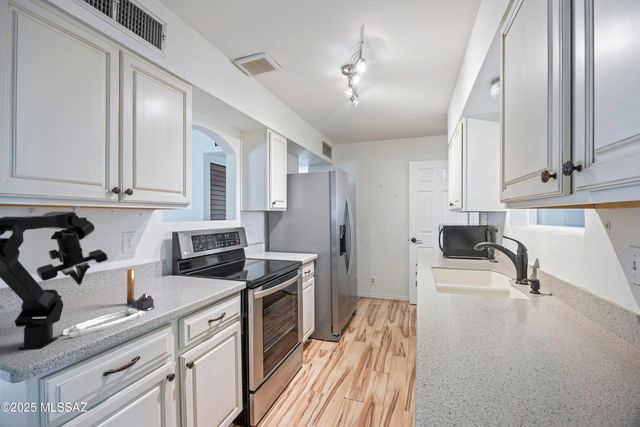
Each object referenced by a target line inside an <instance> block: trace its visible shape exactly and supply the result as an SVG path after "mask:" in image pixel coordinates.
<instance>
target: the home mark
mask: <svg viewBox="0 0 640 427" xmlns="http://www.w3.org/2000/svg"><path fill="white" fill-rule="evenodd" d="M126 306H127V307H130V308H131V307H137V305H135V304H126Z"/></svg>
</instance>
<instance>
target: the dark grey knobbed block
mask: <svg viewBox="0 0 640 427" xmlns="http://www.w3.org/2000/svg"><path fill="white" fill-rule="evenodd" d="M142 296H143V301H145V298H147V297H148V296H149V294H148V293H143V294H142ZM155 308H156V307H155V305H154V304H153V306H152V307H148V308H145V309H141V308H138V307H137V306H136V307H135V308H134V309H136V310H137V311H140V310H141V311H144V312H148V311H151V310H154V309H155Z"/></svg>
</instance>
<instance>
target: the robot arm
mask: <svg viewBox="0 0 640 427" xmlns="http://www.w3.org/2000/svg"><path fill="white" fill-rule="evenodd" d="M45 228H46V229H56V230H57V231H56V230H55V231H54V233H53V234H52V235H51V237H50V240H54V241H56V243H57V246H58V250H57V249H52V250H48V254H49V257H50V259H51V260H56V259H57V260H58V261H59V262H60V263H62V264H59V265H56V266H54V265H53V264H52V263H49V264H46V265H43V266H39V267H38V268H37V269H36V274H37V276H38V277H39V278H40V279H41V281H44V282H45V281H49V280H51V279H54V278H57V276H58V274H59V272H61V273H62V274H63V275H64V276H66V277H67V276H70V277H71V279H73V280H74V282H75V283H76V284H77V285H78V286H80V285H82V284H83V283H82V282H83V280H84V277H85V275H86V273H87V271H88V269H90V268H91V266H90V265H89V262H92V261H95V263H97V264H98V263H99V264H101V263H103V262H106V261H108V254H107V253H106V252H104V250H102V249H96V250H92V251H89V252H88V256H85V257H84V255H83V254H84V253H83V248H82V246H81V242H80V241H81V240H84V238H86V237H87V236H89V235H91V234H92V233H93V232H94V231H95V225H94V224H93V223H92V222H91V221H89V220H88V218H87V217H85V216H84V217H83V216H82V217H80V216H78V215H77V213H76V212H74V211H50V212H46V213H44V214H42V215H31V216H30V215H27V216H26V215H25V216H24V215H23V216H6V215H5V216H3V217H0V236H2V235H4V234H5V233H6V232H12V233H11V235H10V236H9V237H0V279H1V280H2V281H3V282H4V283H5V285H7V286H8V287H9V288H10V289H11V290H12V291H13V293H15V295H17V297H19V299H20V300H21V301H22V304H21V307H20V308H21V311H20V313H19V314H18V316H17V317H16V318H15V319H14V324H15V327H16V328H20V327H23V344H21V345H19V346H17V349H18V350H22V349H24V350H27V349H42V348H44V347H46V346H48V345H49V344H51V343H53V342H55V341H56V340H58V339H59V338H58V336H53V335H54V334H53V333H54V327H53V326H54V324H55V323H57V322H59V321H60V320H61V317H62V313H63V308H64V302H63V300H62V295H59V294H60V293H58V291H57V290H56V289H43V287H41V285H40V284H39V282H37V281H36V279H35V278H34V277H33V276H32V275H31V274H30V273H29V271H28V270H27V269H26V268H25V267H24V266H23V264H21V262H20V261H19V258H20V247H21V246H22V244H23V243H24V233H25V231H26V230H27V231H28V230H35V229H36V230H39V229H45ZM58 229H59V231H58ZM60 229H61V230H60ZM73 267H75V269H74V268H73Z"/></svg>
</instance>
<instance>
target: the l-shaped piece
mask: <svg viewBox="0 0 640 427" xmlns="http://www.w3.org/2000/svg"><path fill="white" fill-rule="evenodd" d="M126 271H127V272H126V274H127V276H126V305H129V304H135V305H136V308H137V307H138V308H141V309H145V308H148V307H152V306H153V305H154V298H152V297H153V296H152V295H148V297H147V298H145V301H143V295H142V296H141V295H140V297H138V299H135V269H134V268H129V269H127V270H126Z"/></svg>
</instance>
